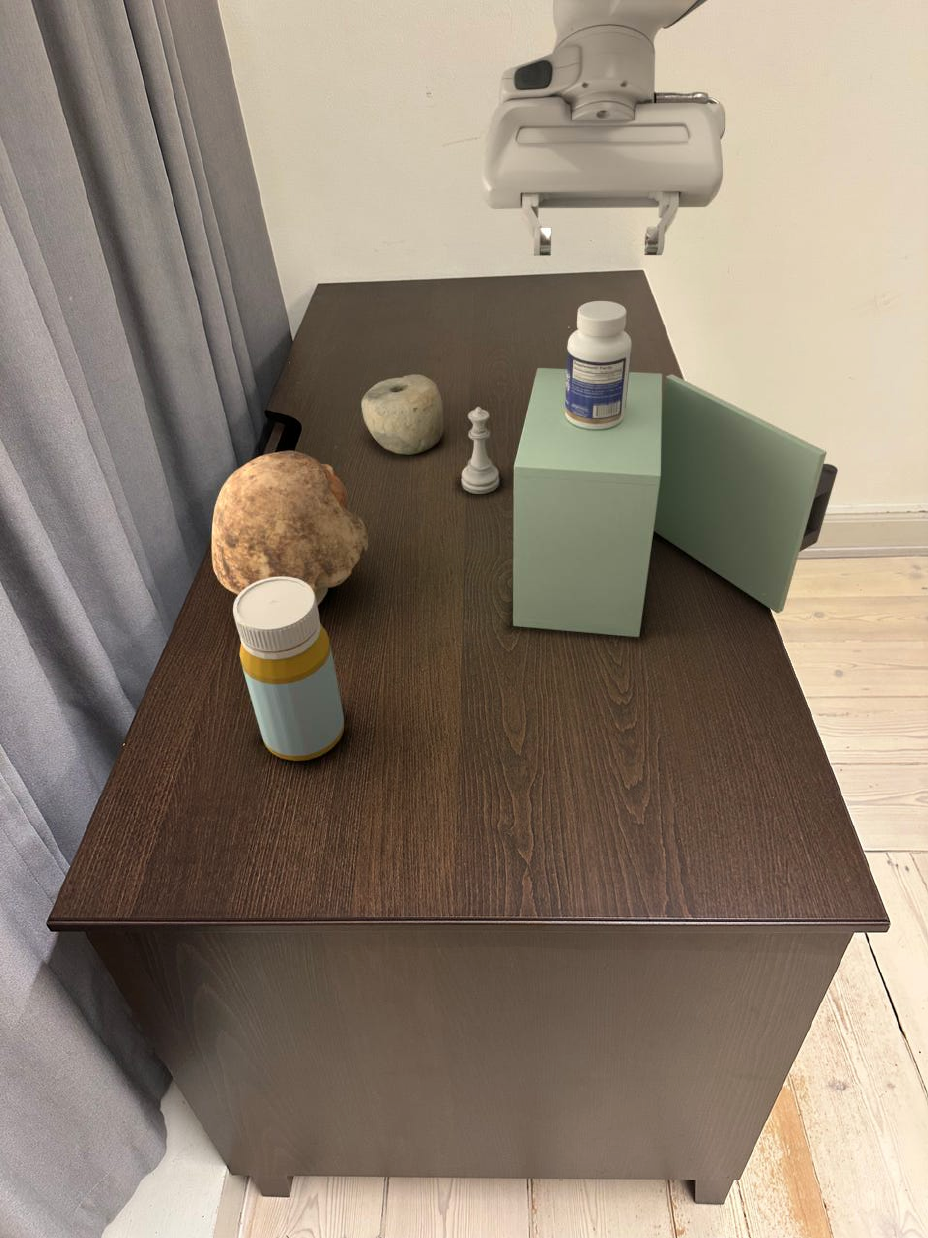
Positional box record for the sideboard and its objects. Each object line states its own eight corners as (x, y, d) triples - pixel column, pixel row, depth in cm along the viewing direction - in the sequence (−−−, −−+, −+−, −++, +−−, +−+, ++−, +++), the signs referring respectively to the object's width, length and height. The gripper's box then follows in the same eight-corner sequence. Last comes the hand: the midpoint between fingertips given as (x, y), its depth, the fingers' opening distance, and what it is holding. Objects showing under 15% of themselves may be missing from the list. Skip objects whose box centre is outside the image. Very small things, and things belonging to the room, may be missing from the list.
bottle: (355, 750, 75) (331, 618, 65) (273, 776, 73) (236, 644, 63) (333, 694, 80) (308, 563, 70) (256, 717, 78) (219, 586, 68)
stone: (466, 393, 113) (435, 365, 103) (442, 471, 113) (410, 450, 104) (398, 378, 116) (363, 351, 107) (375, 454, 116) (338, 433, 107)
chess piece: (455, 489, 103) (451, 412, 97) (472, 470, 106) (469, 394, 100) (488, 498, 102) (487, 420, 95) (505, 479, 105) (505, 402, 98)
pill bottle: (577, 397, 82) (583, 292, 75) (633, 408, 80) (644, 302, 73) (554, 423, 78) (558, 317, 72) (612, 436, 76) (621, 328, 70)
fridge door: (690, 505, 99) (715, 356, 87) (823, 587, 88) (871, 429, 76) (646, 526, 97) (666, 376, 85) (777, 614, 85) (820, 454, 73)
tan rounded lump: (406, 575, 92) (394, 449, 82) (307, 667, 82) (279, 537, 72) (296, 531, 98) (272, 409, 88) (192, 612, 89) (152, 485, 79)
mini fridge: (643, 525, 97) (662, 373, 85) (639, 637, 84) (660, 475, 72) (534, 518, 99) (537, 367, 87) (513, 626, 86) (513, 466, 74)
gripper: (717, 115, 78) (714, 268, 78) (486, 118, 80) (481, 269, 79) (734, 67, 72) (731, 233, 71) (482, 72, 73) (477, 235, 73)
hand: (597, 252), depth 75 cm, fingers open, 8 cm apart
